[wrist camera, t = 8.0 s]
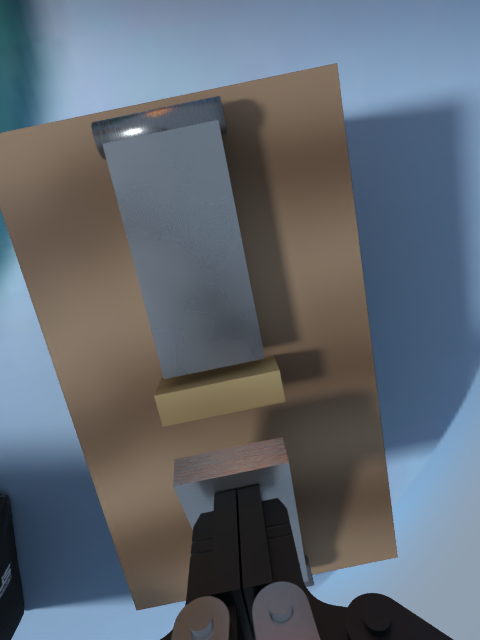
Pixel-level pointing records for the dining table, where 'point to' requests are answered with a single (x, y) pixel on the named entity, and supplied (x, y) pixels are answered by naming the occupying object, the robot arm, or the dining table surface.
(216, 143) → the clasp
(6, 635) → the box
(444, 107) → the dining table surface
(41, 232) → the wooden latch case
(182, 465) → the clasp
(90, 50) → the dining table surface
